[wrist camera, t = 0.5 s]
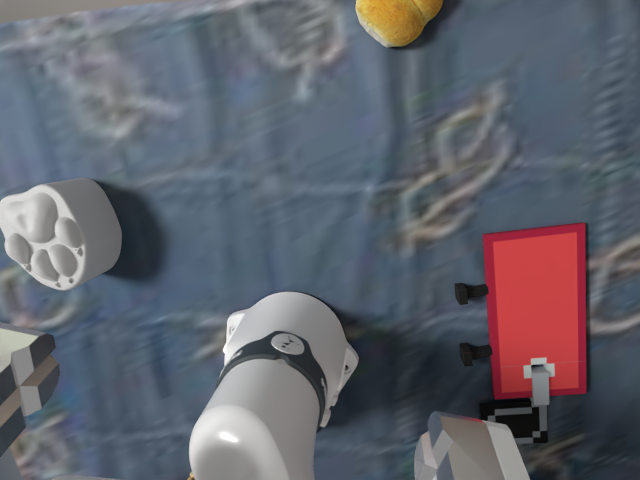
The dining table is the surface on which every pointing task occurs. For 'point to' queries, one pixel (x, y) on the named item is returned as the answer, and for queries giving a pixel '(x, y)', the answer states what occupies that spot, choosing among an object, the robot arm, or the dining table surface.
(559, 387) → the red board with handle
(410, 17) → the bread roll
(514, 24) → the dining table surface
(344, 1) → the dining table surface
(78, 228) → the lumpy-topped squat cylinder
